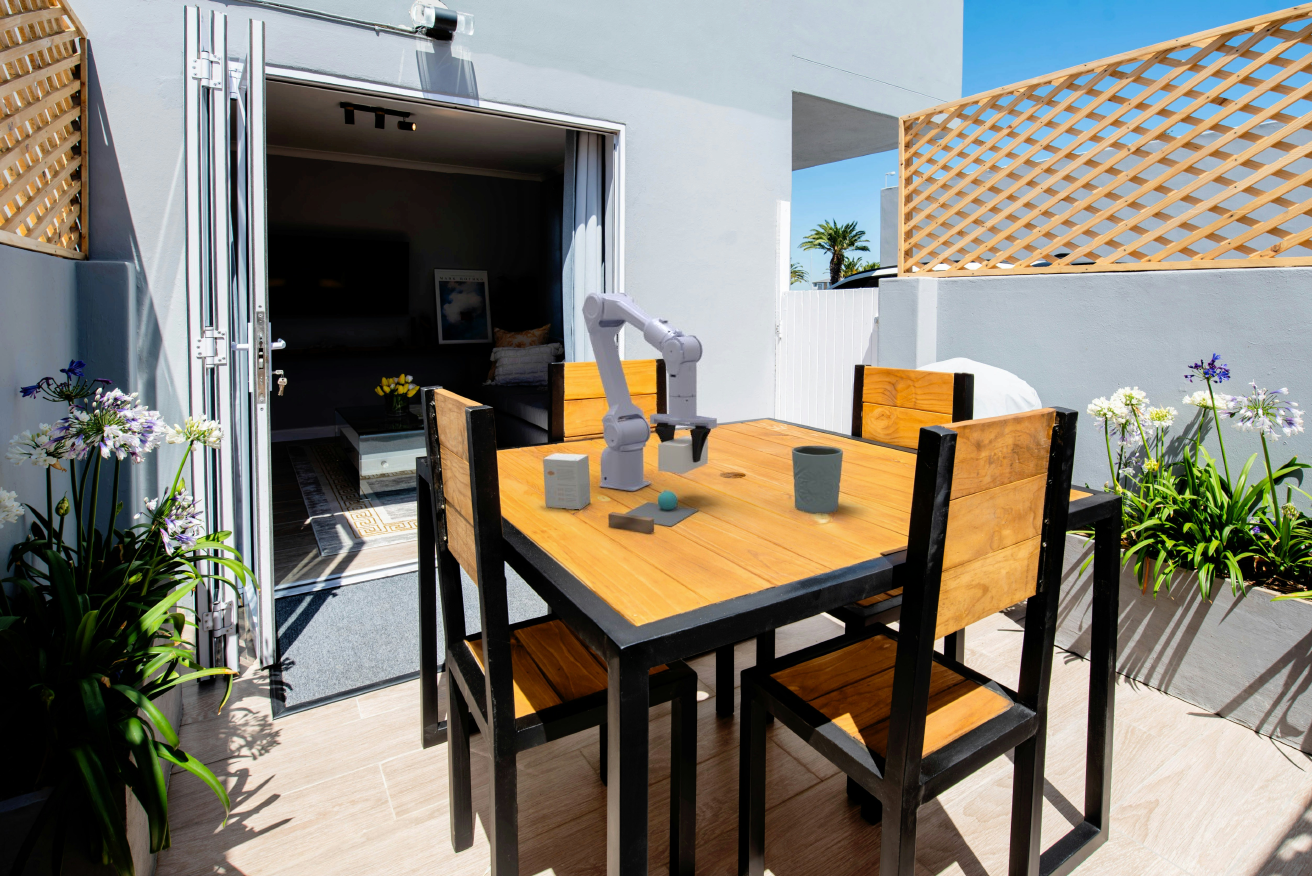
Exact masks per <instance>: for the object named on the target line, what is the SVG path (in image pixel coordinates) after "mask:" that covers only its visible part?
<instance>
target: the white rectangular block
mask: <svg viewBox="0 0 1312 876" xmlns="http://www.w3.org/2000/svg"><path fill="white" fill-rule="evenodd" d="M657 447H658V448H657V453H658V454H657V459H658V460H657V465H658V467H657V472H664V473H665V472H666V473H673V474H681V475H683V474H686V473H688V472H690V471H694V470H695V469H698V468H701V467H704V466H706V465H708V464H709V463H708V460H709V459H708V457H709V456H708V455H709V438H708V437H707V439H706V441H705V444H704V447H703V450H702V454H701V459H700V461H699V462H693V445H692V438H691V435H689V436H688V435H683V436H679V437H676V438H674V439H672V440H669V441H666V442H663V443H661V442H660V443H658V444H657Z"/></svg>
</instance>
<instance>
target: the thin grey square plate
mask: <svg viewBox="0 0 1312 876" xmlns="http://www.w3.org/2000/svg"><path fill="white" fill-rule="evenodd" d="M699 511H700V509H697V508H692V507H691V508H690V507H685V506H677V505H676V507H675V508H674V509H672V510H663V509H662V508H661V507H660V506H659V504H658V502H657V503H656V502H650V501H647V502H645V503H643V504H641V505H638V506H637V507H635V508H633V509H631V510H629V511H626V512H624V514H629V515H635V516H642V517H648V518H654V525H657V526H661V527H662V526H663V527H669V528H671V527H673V526H676V525H677V524H678V523H681V522H682V521H684V520H686V519H687V518H689V517H690V516H692V515H694V514H695V513H698V512H699Z"/></svg>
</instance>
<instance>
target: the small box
mask: <svg viewBox="0 0 1312 876" xmlns="http://www.w3.org/2000/svg"><path fill="white" fill-rule="evenodd" d="M589 459H590V458H589V454H578V453H577V454H576V453H561V452H560V453H558V452H555V453H552V454H550V455H547V456H546V457H543V459H542V463H543V467H542V468H543V483H544V498H545V499H544V503H545V508H550V507H554V508H553V509H562V508H566V509H565V510H574V509H579V510H578V511H580V510H582V509H584V508H585V507H586V506H588V505H589V504H591V502H592V501H591V480H590V477H591V476H590V462H589V461H590V460H589Z"/></svg>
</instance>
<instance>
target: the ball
mask: <svg viewBox="0 0 1312 876" xmlns="http://www.w3.org/2000/svg"><path fill="white" fill-rule="evenodd" d="M657 503H658V504H659V506H660V507H661V508H662V509H663V510H672V509H674V508H675V507H676V506H677V505H678V497H677V495H676V494H675V493H674V492H673V491H671V490H664V491H662V492H660V493H659V495H658V496H657Z"/></svg>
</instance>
